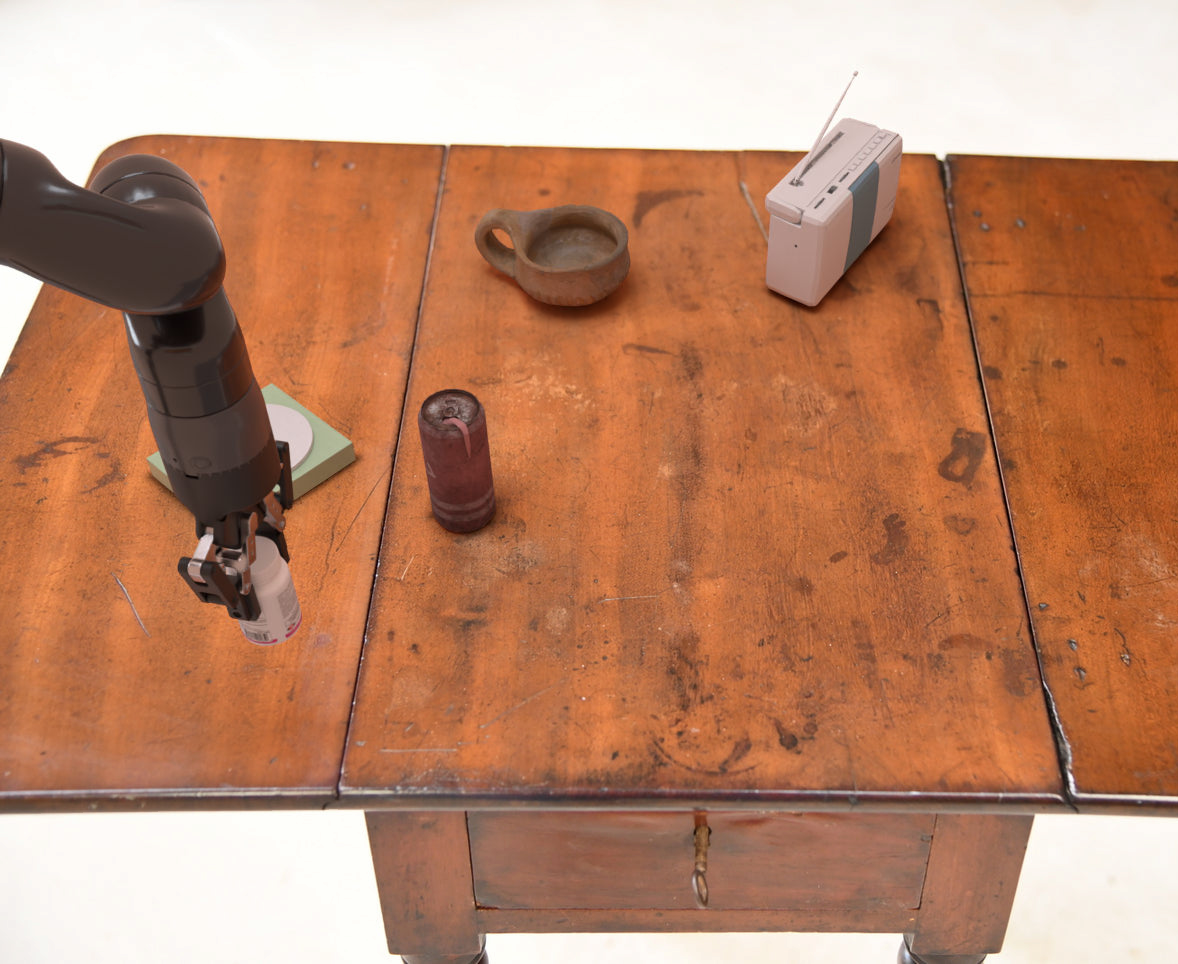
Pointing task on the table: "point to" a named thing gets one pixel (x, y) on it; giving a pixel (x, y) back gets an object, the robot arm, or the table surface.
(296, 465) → the scale
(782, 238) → the radio
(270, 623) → the pill bottle
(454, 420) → the can
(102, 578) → the table surface
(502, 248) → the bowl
